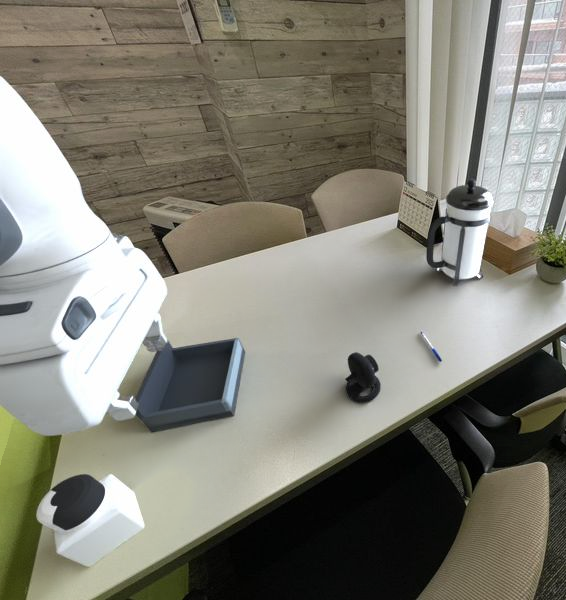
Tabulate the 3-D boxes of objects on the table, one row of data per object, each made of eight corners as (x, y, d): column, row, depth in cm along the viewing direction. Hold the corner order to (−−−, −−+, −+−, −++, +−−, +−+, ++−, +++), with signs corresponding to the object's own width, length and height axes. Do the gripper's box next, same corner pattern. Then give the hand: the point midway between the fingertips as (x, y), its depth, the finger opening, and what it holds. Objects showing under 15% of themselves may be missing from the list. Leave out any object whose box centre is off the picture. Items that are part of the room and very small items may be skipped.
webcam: (388, 390, 69) (387, 359, 63) (360, 411, 65) (355, 379, 59) (366, 369, 74) (363, 337, 68) (338, 387, 70) (332, 355, 64)
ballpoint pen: (443, 361, 75) (443, 358, 75) (439, 362, 75) (440, 359, 74) (421, 332, 83) (422, 329, 82) (418, 333, 82) (418, 331, 82)
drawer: (245, 352, 78) (234, 327, 73) (234, 416, 64) (220, 392, 60) (177, 363, 75) (162, 339, 70) (151, 433, 62) (129, 409, 57)
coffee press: (441, 257, 112) (449, 167, 93) (487, 267, 107) (505, 174, 88) (424, 284, 100) (429, 186, 81) (475, 296, 95) (493, 196, 76)
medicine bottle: (134, 491, 54) (92, 456, 46) (146, 527, 50) (101, 495, 42) (81, 527, 50) (24, 495, 42) (88, 569, 46) (27, 542, 38)
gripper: (85, 228, 35) (147, 321, 44) (-82, 373, 20) (64, 473, 29) (149, 222, 37) (197, 314, 45) (39, 355, 21) (144, 456, 30)
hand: (145, 377), depth 37 cm, fingers open, 8 cm apart
